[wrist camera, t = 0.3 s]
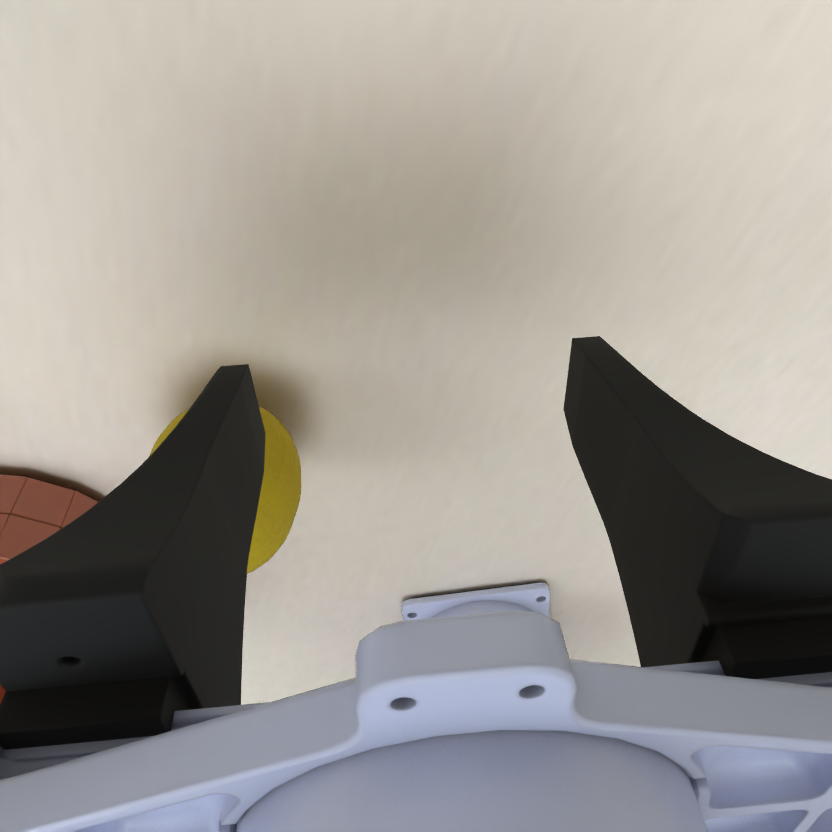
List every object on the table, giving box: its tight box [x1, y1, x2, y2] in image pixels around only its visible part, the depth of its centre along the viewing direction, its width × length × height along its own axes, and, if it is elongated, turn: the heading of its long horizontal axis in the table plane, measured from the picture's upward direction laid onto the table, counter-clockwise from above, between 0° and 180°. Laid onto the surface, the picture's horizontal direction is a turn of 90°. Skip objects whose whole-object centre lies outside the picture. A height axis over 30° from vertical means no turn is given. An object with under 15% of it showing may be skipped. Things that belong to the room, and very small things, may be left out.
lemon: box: [150, 407, 301, 573], centre depth 26 cm, size 6×6×8 cm
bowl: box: [0, 474, 98, 704], centre depth 32 cm, size 12×12×5 cm
